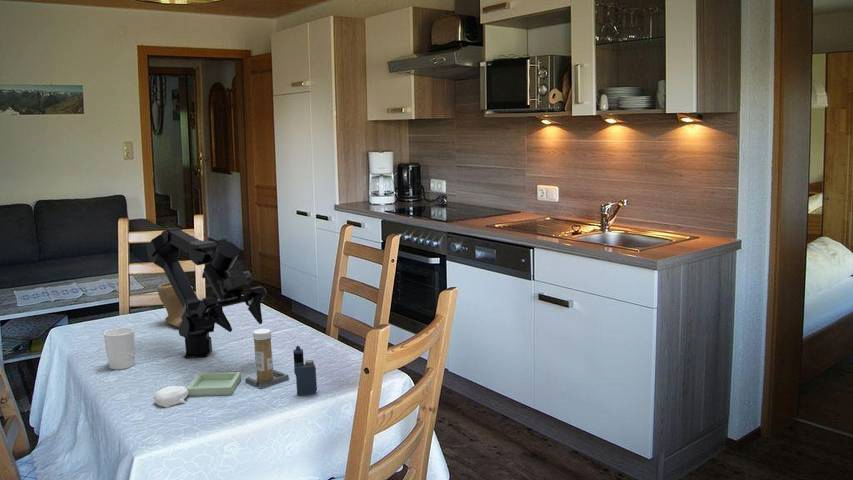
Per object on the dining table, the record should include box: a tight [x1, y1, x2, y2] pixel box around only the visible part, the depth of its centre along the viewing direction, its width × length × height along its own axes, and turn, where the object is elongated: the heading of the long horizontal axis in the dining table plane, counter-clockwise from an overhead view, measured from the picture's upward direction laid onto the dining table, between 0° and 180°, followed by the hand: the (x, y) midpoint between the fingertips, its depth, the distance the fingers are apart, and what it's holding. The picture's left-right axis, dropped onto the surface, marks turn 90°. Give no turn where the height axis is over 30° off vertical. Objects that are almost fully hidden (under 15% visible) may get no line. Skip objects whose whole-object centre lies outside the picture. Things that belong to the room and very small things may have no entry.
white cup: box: [103, 327, 136, 370], centre depth 206 cm, size 8×8×10 cm
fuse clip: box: [245, 369, 290, 390], centre depth 191 cm, size 7×9×1 cm
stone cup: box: [156, 281, 183, 328], centre depth 246 cm, size 15×12×15 cm
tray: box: [186, 371, 242, 397], centre depth 188 cm, size 11×11×2 cm
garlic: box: [153, 385, 188, 408], centre depth 179 cm, size 8×7×4 cm
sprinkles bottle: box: [252, 328, 275, 383], centre depth 191 cm, size 5×5×14 cm
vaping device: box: [292, 345, 318, 396], centre depth 181 cm, size 3×5×12 cm, turn 95°
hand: (246, 327), depth 195 cm, fingers open, 9 cm apart
